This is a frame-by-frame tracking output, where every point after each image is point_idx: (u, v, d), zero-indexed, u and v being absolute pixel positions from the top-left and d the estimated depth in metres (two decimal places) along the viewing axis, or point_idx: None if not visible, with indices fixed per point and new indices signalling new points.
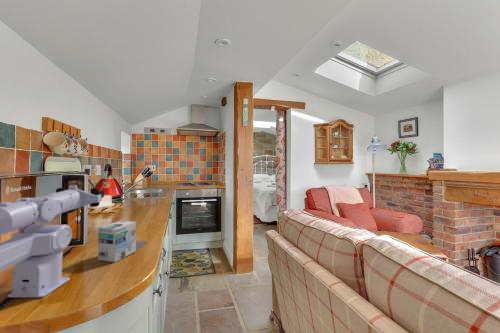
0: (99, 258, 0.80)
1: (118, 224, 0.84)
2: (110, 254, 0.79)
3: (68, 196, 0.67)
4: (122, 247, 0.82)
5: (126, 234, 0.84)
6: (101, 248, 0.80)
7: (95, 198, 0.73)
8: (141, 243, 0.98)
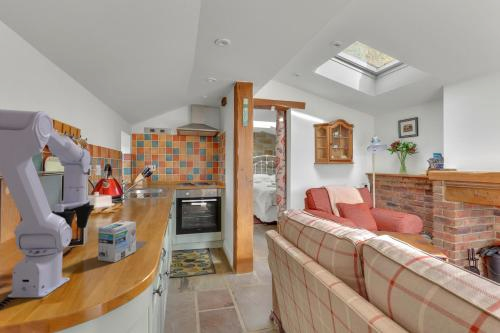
0: (99, 258, 0.80)
1: (118, 224, 0.84)
2: (110, 254, 0.79)
3: None
4: (122, 247, 0.82)
5: (126, 234, 0.84)
6: (101, 248, 0.80)
7: None
8: (141, 243, 0.98)
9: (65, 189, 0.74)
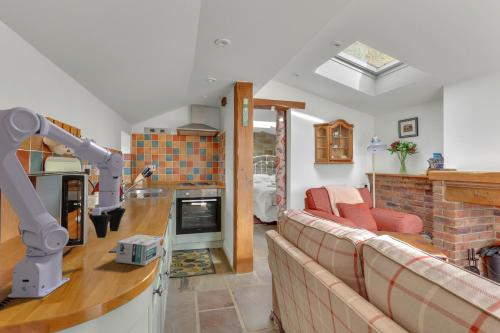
0: (118, 244, 0.79)
1: (155, 250, 0.82)
2: (122, 258, 0.78)
3: (119, 188, 0.78)
4: None
5: None
6: (127, 247, 0.78)
7: None
8: None
9: (100, 193, 0.75)
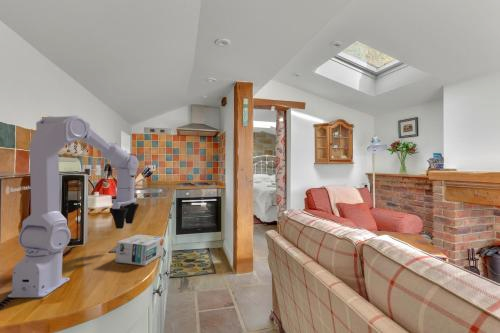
0: (118, 244, 0.79)
1: (155, 250, 0.82)
2: (122, 258, 0.78)
3: (134, 185, 0.90)
4: None
5: None
6: (127, 247, 0.78)
7: None
8: None
9: (118, 189, 0.87)
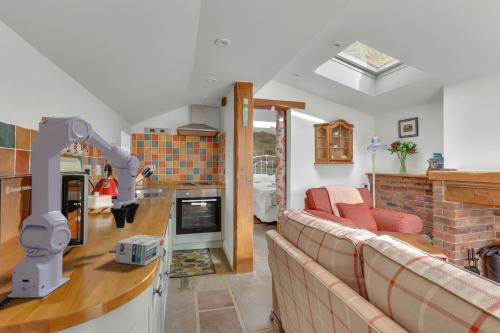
0: (118, 244, 0.79)
1: (155, 250, 0.82)
2: (122, 258, 0.78)
3: None
4: None
5: None
6: (127, 247, 0.78)
7: None
8: None
9: (119, 189, 0.87)
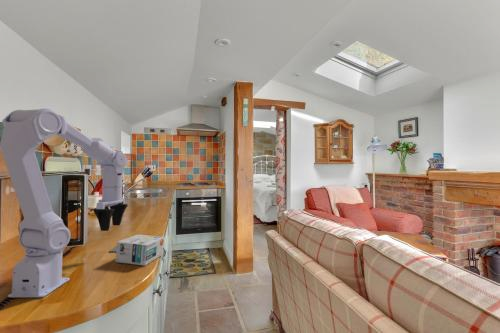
0: (118, 244, 0.79)
1: (155, 250, 0.82)
2: (122, 258, 0.78)
3: None
4: None
5: None
6: (127, 247, 0.78)
7: None
8: None
9: (104, 188, 0.80)
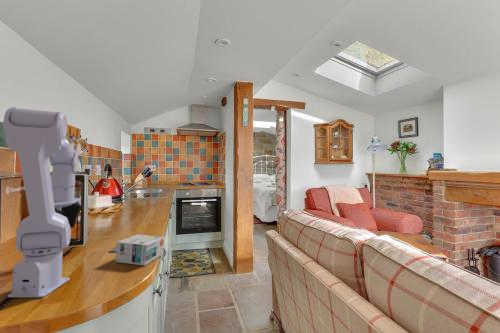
0: (118, 244, 0.79)
1: (155, 250, 0.82)
2: (122, 258, 0.78)
3: None
4: None
5: None
6: (127, 247, 0.78)
7: None
8: None
9: (53, 188, 0.75)
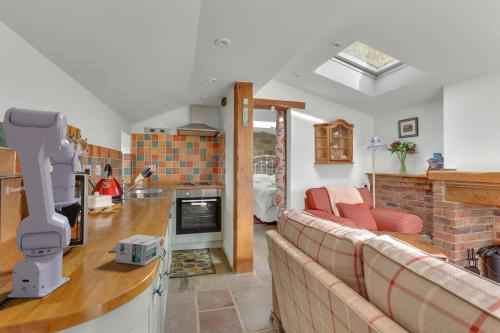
0: (118, 244, 0.79)
1: (155, 250, 0.82)
2: (122, 258, 0.78)
3: None
4: None
5: None
6: (127, 247, 0.78)
7: None
8: None
9: (53, 188, 0.75)
